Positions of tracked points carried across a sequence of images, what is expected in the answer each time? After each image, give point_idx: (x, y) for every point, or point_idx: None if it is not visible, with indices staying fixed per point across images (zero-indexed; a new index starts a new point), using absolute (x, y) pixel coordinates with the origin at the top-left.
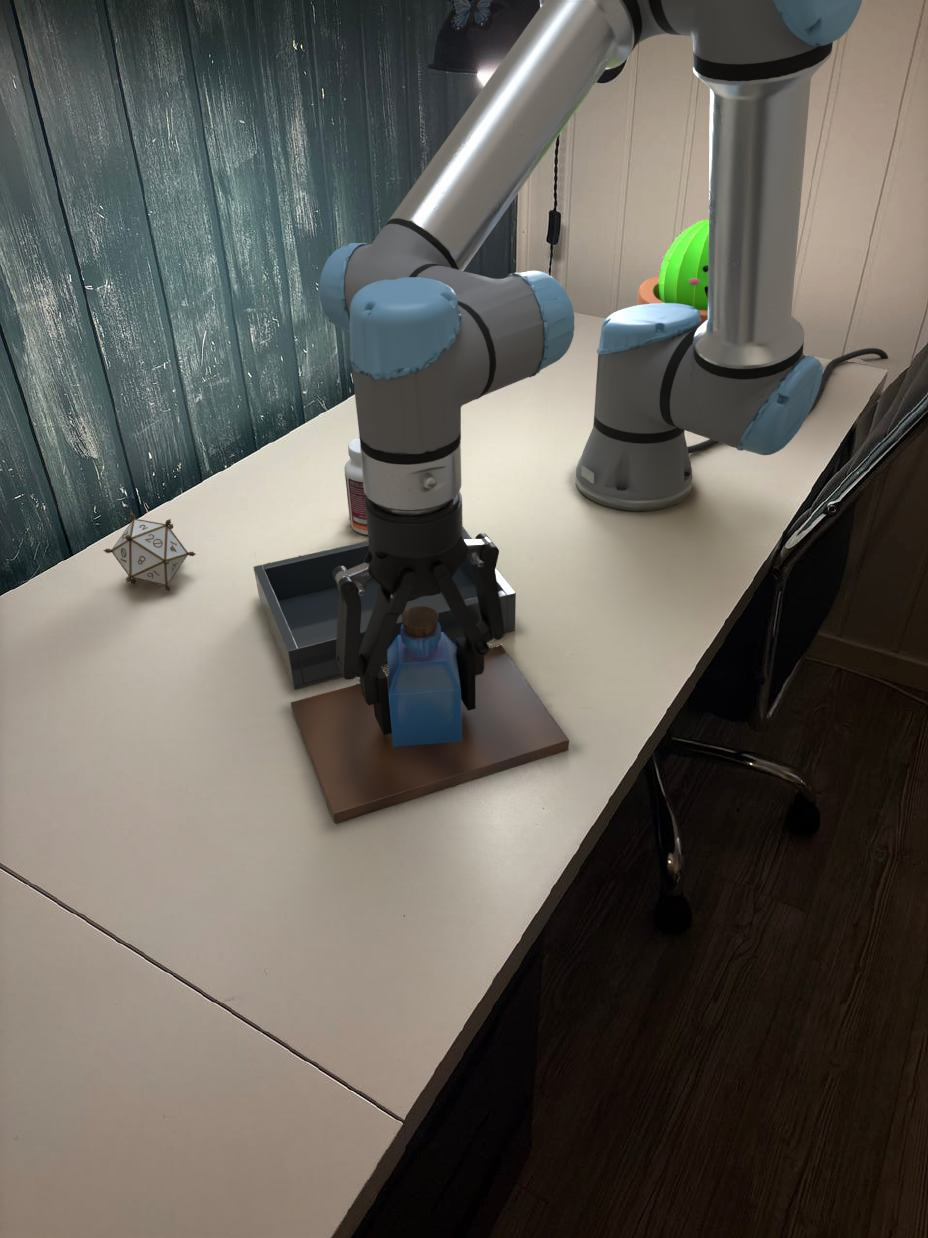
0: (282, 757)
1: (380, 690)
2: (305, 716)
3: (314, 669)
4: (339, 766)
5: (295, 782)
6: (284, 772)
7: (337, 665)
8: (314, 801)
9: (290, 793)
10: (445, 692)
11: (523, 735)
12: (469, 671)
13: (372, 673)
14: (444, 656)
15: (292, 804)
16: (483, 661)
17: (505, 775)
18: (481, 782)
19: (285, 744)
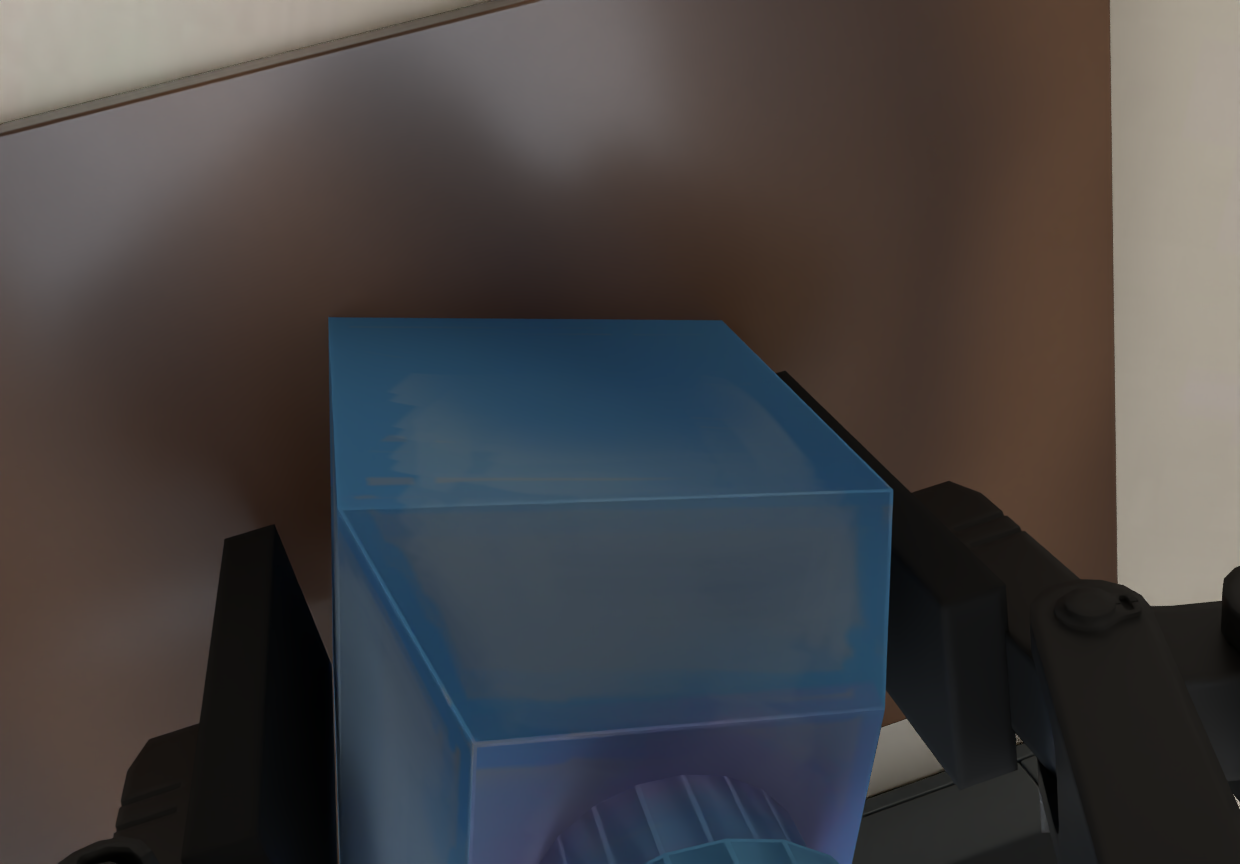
0: (1179, 350)
1: (944, 532)
2: (1081, 558)
3: (1003, 823)
4: (1007, 210)
5: (1165, 185)
6: (1193, 256)
7: (896, 852)
8: (1115, 42)
9: (1200, 116)
10: (466, 496)
11: None
12: (245, 724)
13: (1094, 616)
14: (484, 792)
15: (1209, 41)
16: (121, 822)
17: (61, 59)
18: (225, 24)
19: (1150, 427)
